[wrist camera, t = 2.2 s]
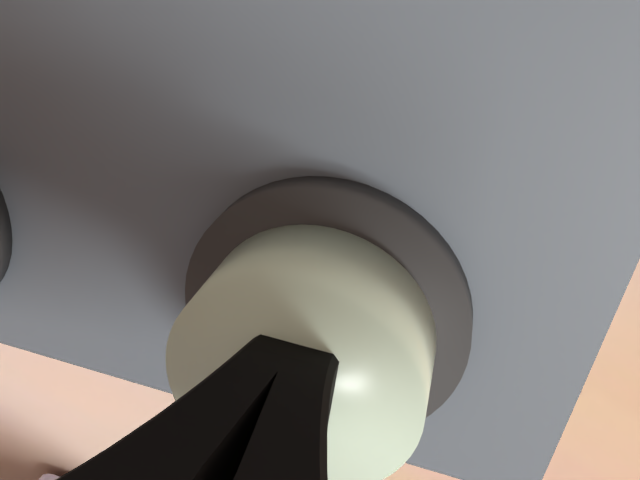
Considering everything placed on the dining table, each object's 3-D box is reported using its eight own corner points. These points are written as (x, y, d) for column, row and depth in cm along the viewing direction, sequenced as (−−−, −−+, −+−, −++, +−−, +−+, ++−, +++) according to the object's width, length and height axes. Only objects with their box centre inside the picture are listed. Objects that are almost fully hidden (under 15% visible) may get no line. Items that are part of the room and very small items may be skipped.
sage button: (410, 446, 12) (396, 522, 11) (205, 387, 13) (165, 449, 11) (462, 258, 10) (455, 319, 9) (214, 199, 11) (165, 245, 9)
